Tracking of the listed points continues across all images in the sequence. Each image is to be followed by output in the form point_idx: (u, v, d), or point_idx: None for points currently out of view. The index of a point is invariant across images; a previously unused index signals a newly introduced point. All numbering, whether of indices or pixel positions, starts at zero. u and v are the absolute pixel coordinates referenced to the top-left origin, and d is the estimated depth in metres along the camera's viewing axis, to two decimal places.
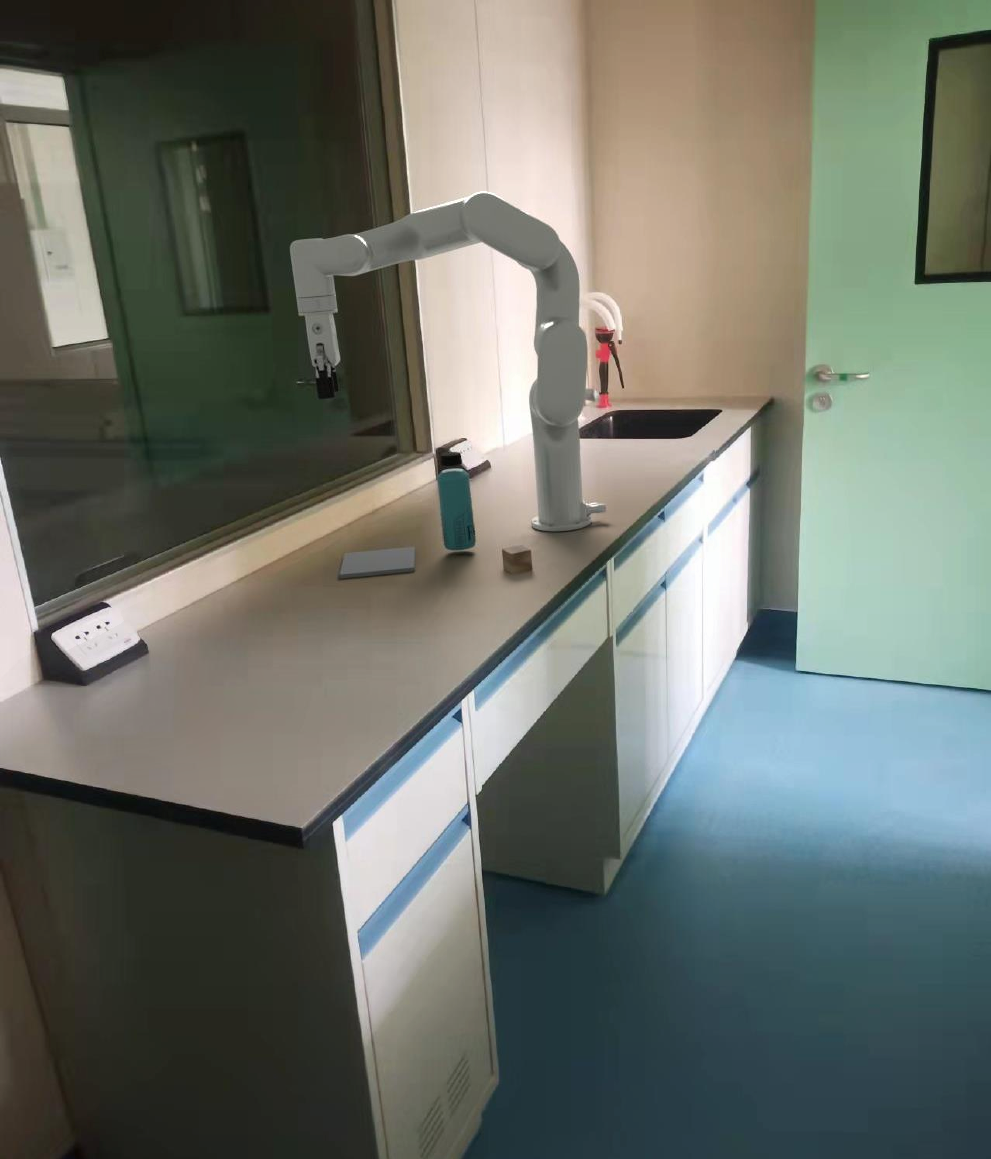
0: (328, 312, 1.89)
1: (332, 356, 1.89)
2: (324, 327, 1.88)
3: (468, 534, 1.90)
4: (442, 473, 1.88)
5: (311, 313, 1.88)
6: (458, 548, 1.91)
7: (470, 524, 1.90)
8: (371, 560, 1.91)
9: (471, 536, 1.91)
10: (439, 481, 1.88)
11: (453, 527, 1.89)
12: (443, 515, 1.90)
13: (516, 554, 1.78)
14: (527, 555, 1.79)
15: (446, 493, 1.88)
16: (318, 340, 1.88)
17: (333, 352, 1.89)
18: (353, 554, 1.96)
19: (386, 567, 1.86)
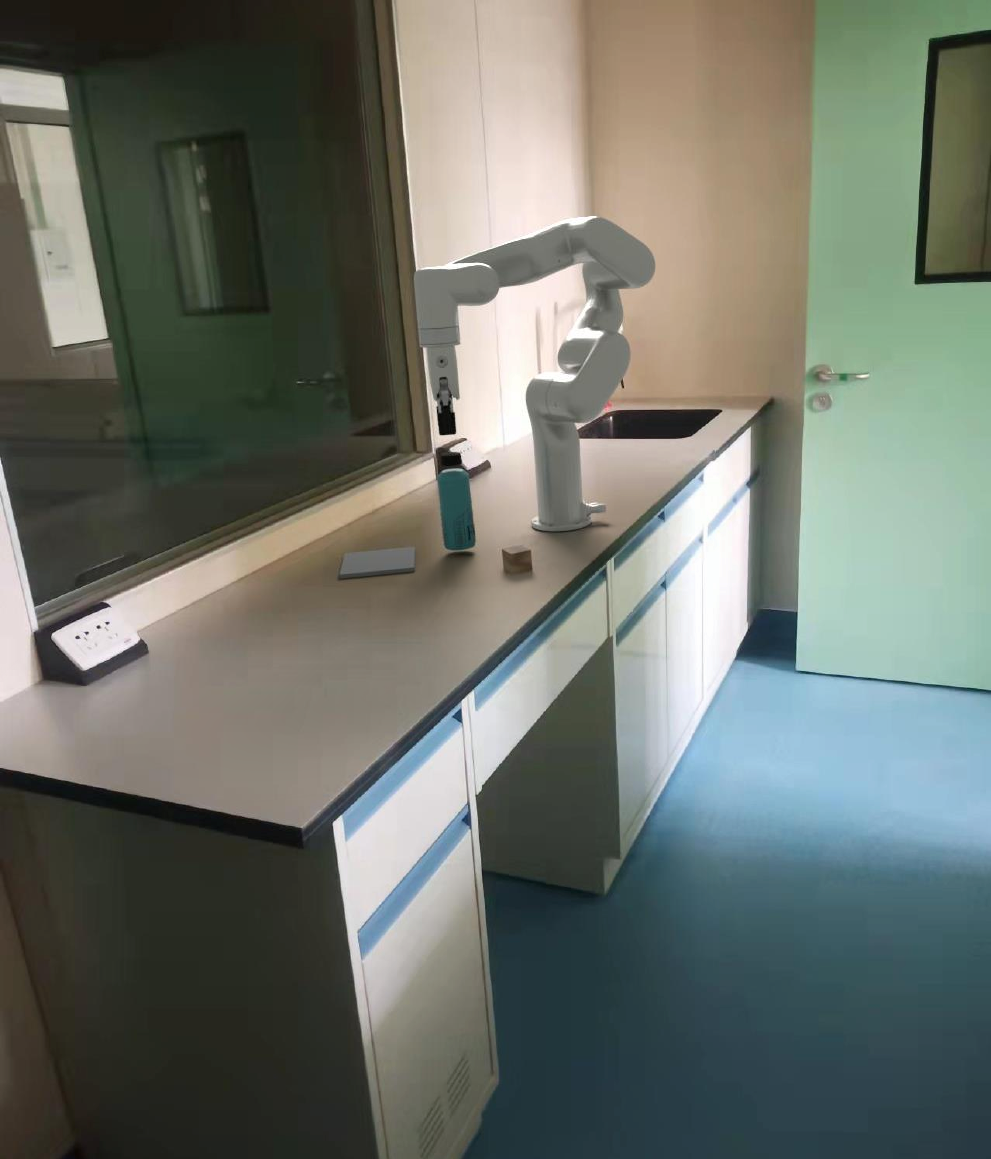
0: (452, 344, 1.79)
1: (455, 391, 1.79)
2: (449, 360, 1.78)
3: (468, 534, 1.90)
4: (442, 473, 1.88)
5: (435, 345, 1.78)
6: (458, 548, 1.91)
7: (470, 524, 1.90)
8: (371, 560, 1.91)
9: (471, 536, 1.91)
10: (439, 481, 1.88)
11: (453, 527, 1.89)
12: (443, 515, 1.90)
13: (516, 554, 1.78)
14: (527, 555, 1.79)
15: (445, 493, 1.88)
16: (442, 374, 1.78)
17: (457, 386, 1.79)
18: (353, 554, 1.96)
19: (386, 567, 1.86)
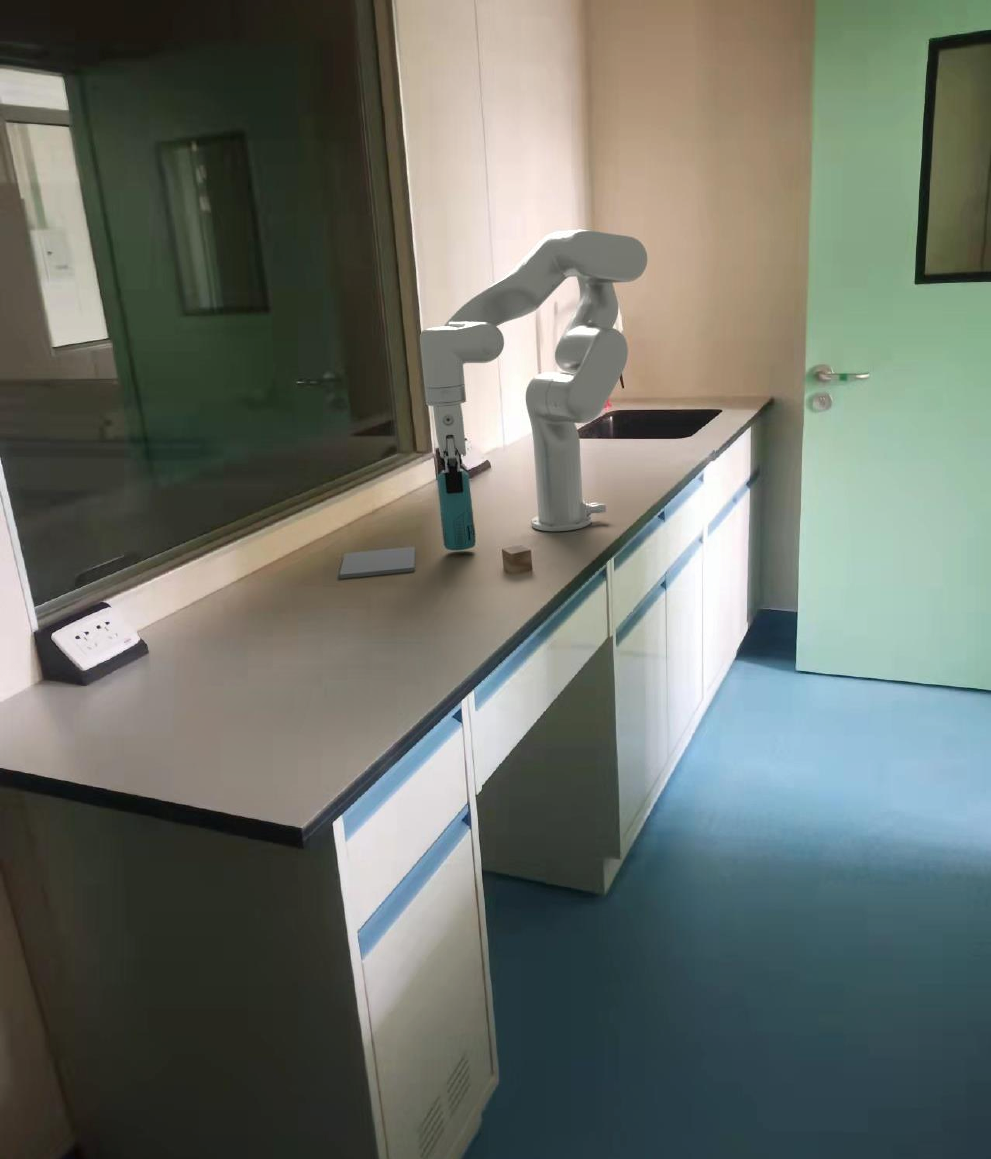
0: (458, 402, 1.82)
1: (462, 448, 1.83)
2: (455, 418, 1.81)
3: (468, 534, 1.90)
4: (442, 473, 1.88)
5: (441, 404, 1.81)
6: (458, 548, 1.91)
7: (470, 524, 1.90)
8: (371, 560, 1.91)
9: (471, 536, 1.91)
10: (439, 481, 1.88)
11: (453, 527, 1.89)
12: (443, 515, 1.90)
13: (516, 554, 1.78)
14: (527, 555, 1.79)
15: (445, 493, 1.88)
16: (448, 434, 1.82)
17: (463, 444, 1.83)
18: (353, 554, 1.96)
19: (386, 567, 1.86)
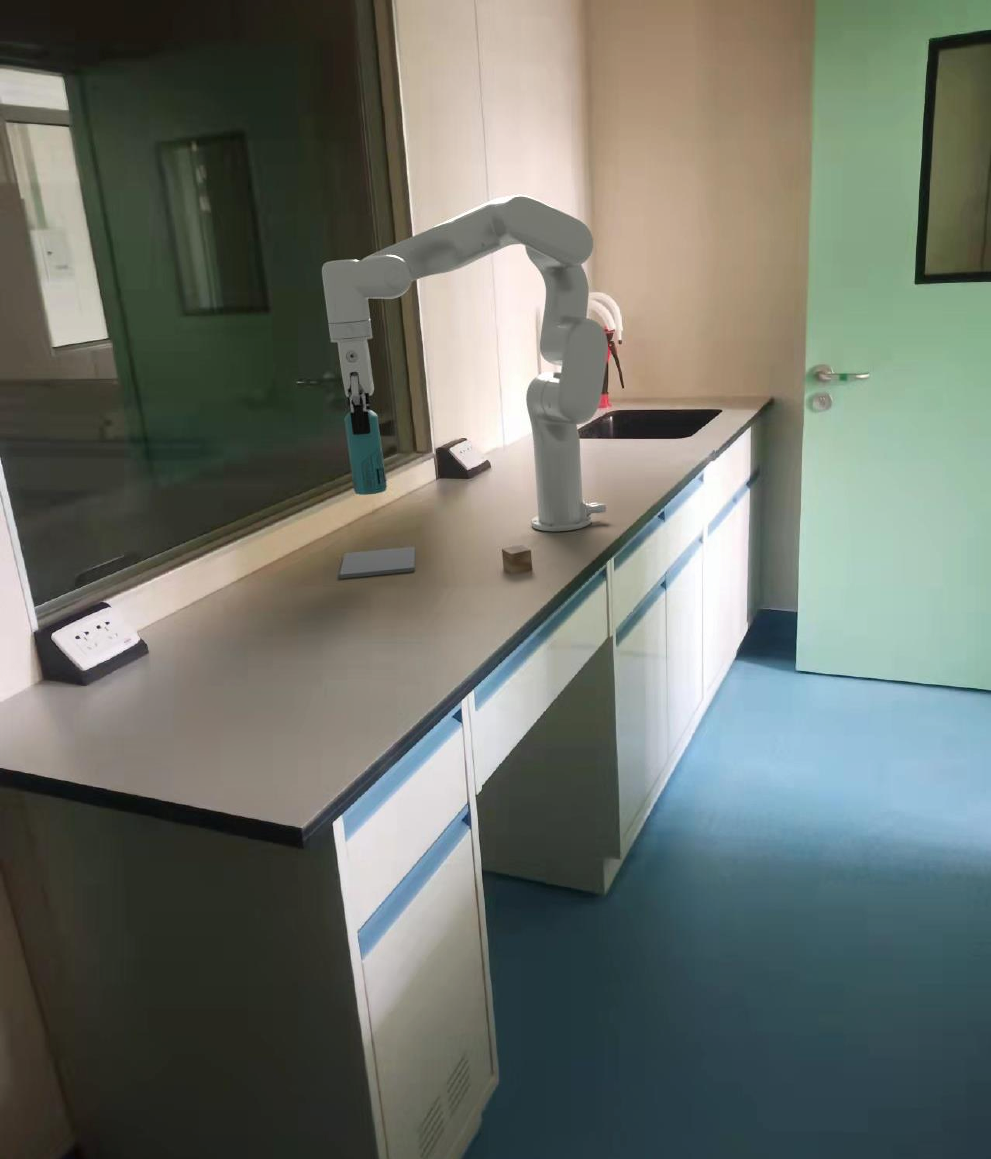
0: (363, 338, 1.75)
1: (367, 386, 1.76)
2: (359, 355, 1.74)
3: (377, 477, 1.84)
4: (349, 414, 1.81)
5: (345, 340, 1.75)
6: (367, 492, 1.84)
7: (379, 467, 1.84)
8: (371, 560, 1.91)
9: (381, 480, 1.84)
10: (346, 422, 1.81)
11: (361, 470, 1.83)
12: (351, 458, 1.83)
13: (516, 554, 1.78)
14: (527, 555, 1.79)
15: (353, 434, 1.81)
16: (352, 371, 1.75)
17: (368, 381, 1.76)
18: (353, 554, 1.96)
19: (386, 567, 1.86)
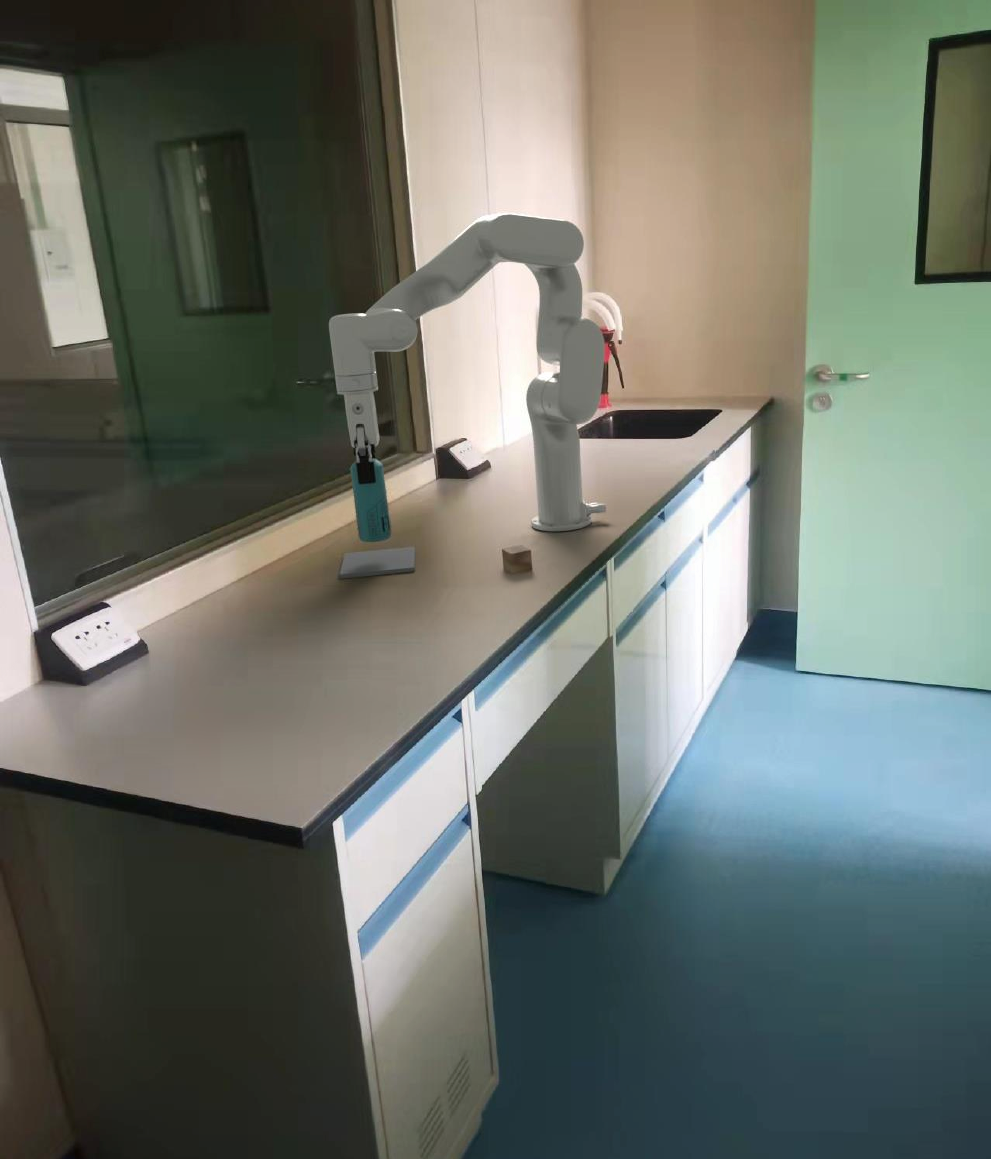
0: (369, 391, 1.78)
1: (373, 437, 1.79)
2: (365, 407, 1.77)
3: (382, 525, 1.87)
4: (355, 463, 1.84)
5: (351, 392, 1.78)
6: (372, 540, 1.87)
7: (384, 515, 1.87)
8: (371, 560, 1.91)
9: (386, 528, 1.87)
10: (351, 471, 1.84)
11: (366, 518, 1.86)
12: (356, 506, 1.86)
13: (516, 554, 1.78)
14: (527, 555, 1.79)
15: (358, 483, 1.84)
16: (358, 423, 1.78)
17: (374, 433, 1.79)
18: (353, 554, 1.96)
19: (386, 567, 1.86)
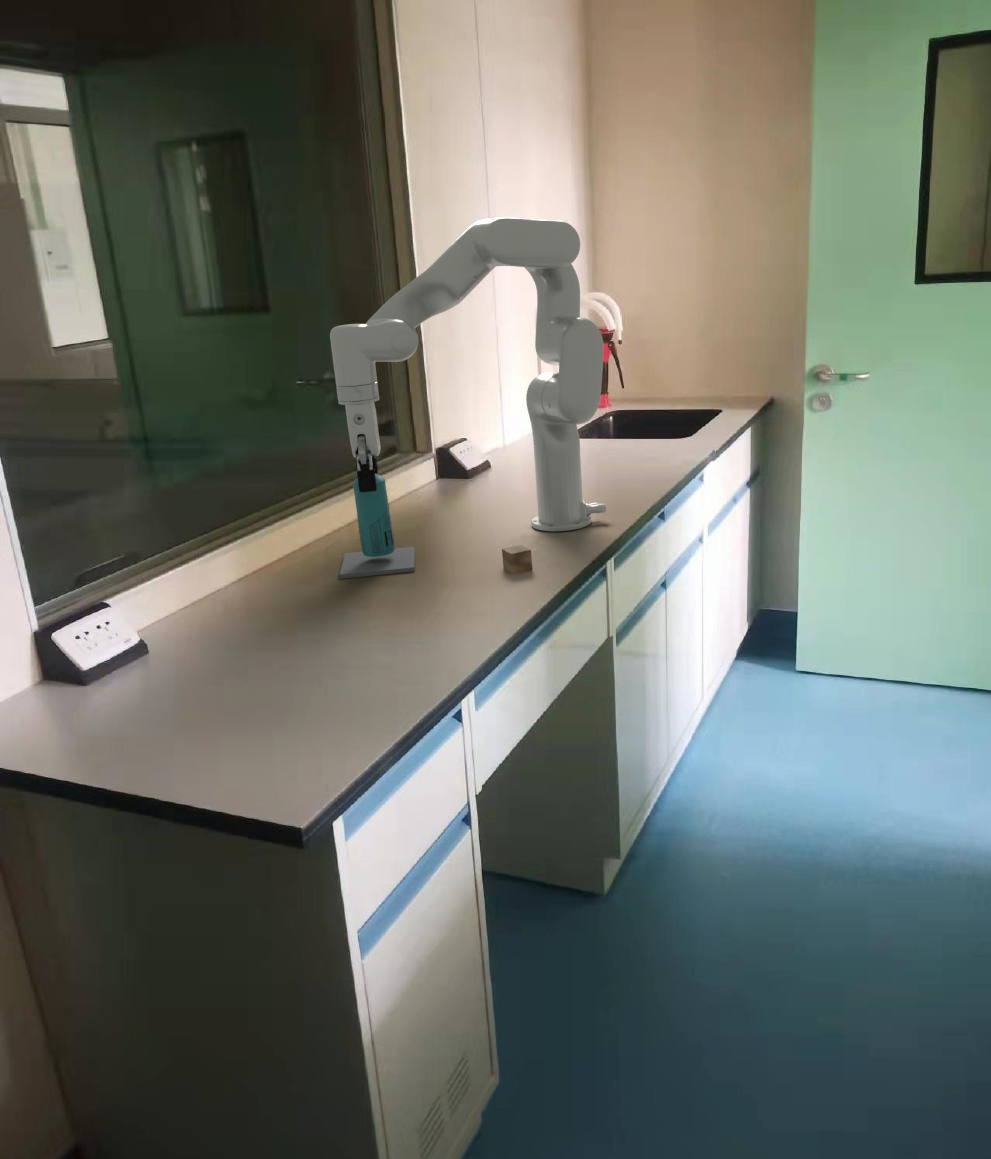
0: (370, 401, 1.79)
1: (374, 447, 1.80)
2: (366, 417, 1.78)
3: (385, 540, 1.88)
4: (357, 478, 1.86)
5: (352, 402, 1.78)
6: (375, 554, 1.88)
7: (387, 530, 1.88)
8: (371, 560, 1.91)
9: (389, 542, 1.88)
10: (354, 487, 1.85)
11: (369, 533, 1.87)
12: (360, 521, 1.87)
13: (516, 554, 1.78)
14: (527, 555, 1.79)
15: (361, 499, 1.85)
16: (359, 431, 1.78)
17: (375, 443, 1.79)
18: (353, 554, 1.96)
19: (386, 567, 1.86)
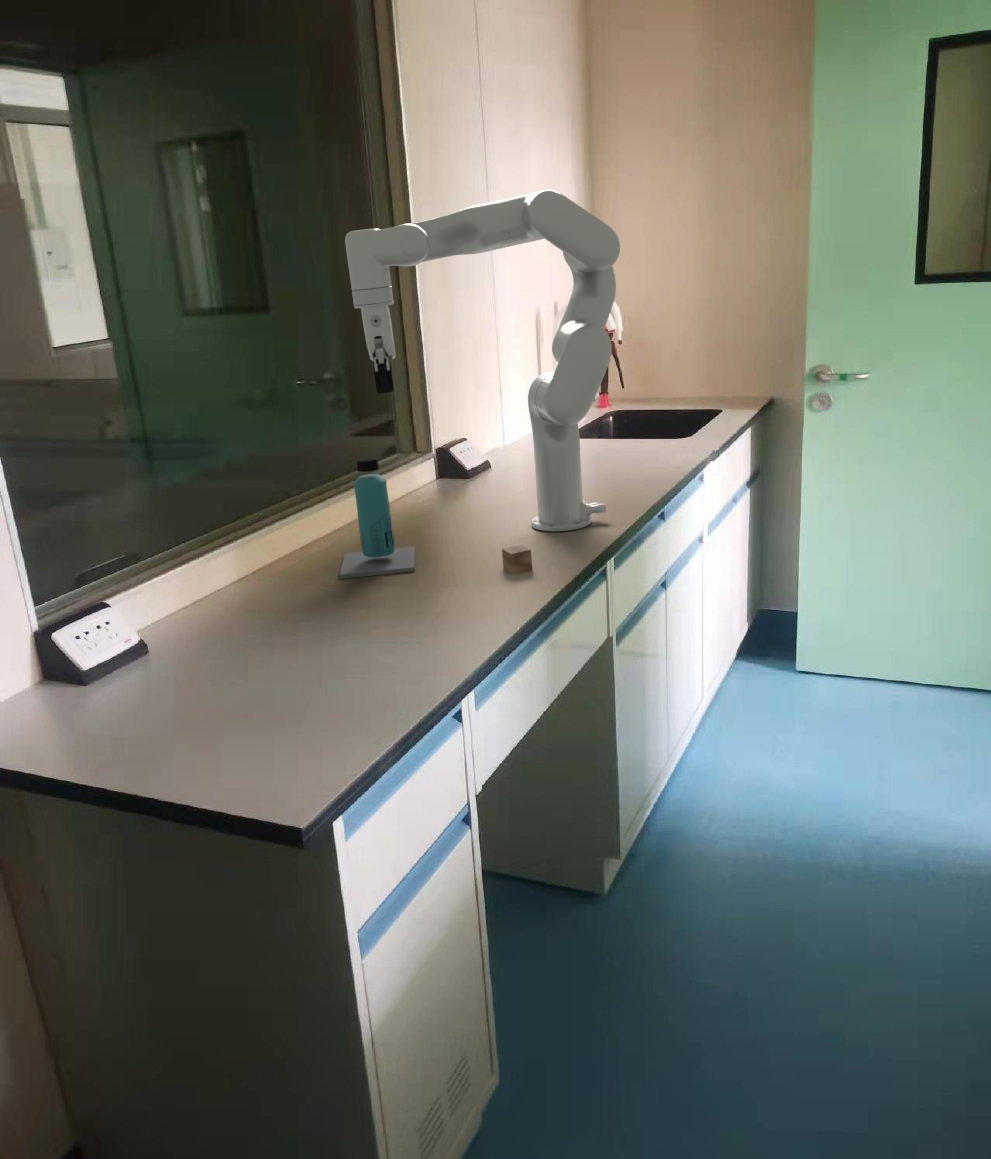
0: (385, 304, 1.84)
1: (391, 349, 1.85)
2: (382, 319, 1.83)
3: (386, 541, 1.88)
4: (358, 479, 1.85)
5: (368, 305, 1.83)
6: (376, 555, 1.88)
7: (388, 530, 1.88)
8: (371, 560, 1.91)
9: (389, 543, 1.88)
10: (355, 487, 1.85)
11: (370, 534, 1.87)
12: (360, 521, 1.87)
13: (516, 554, 1.78)
14: (527, 555, 1.79)
15: (362, 499, 1.85)
16: (376, 333, 1.84)
17: (392, 345, 1.85)
18: (353, 554, 1.96)
19: (386, 567, 1.86)
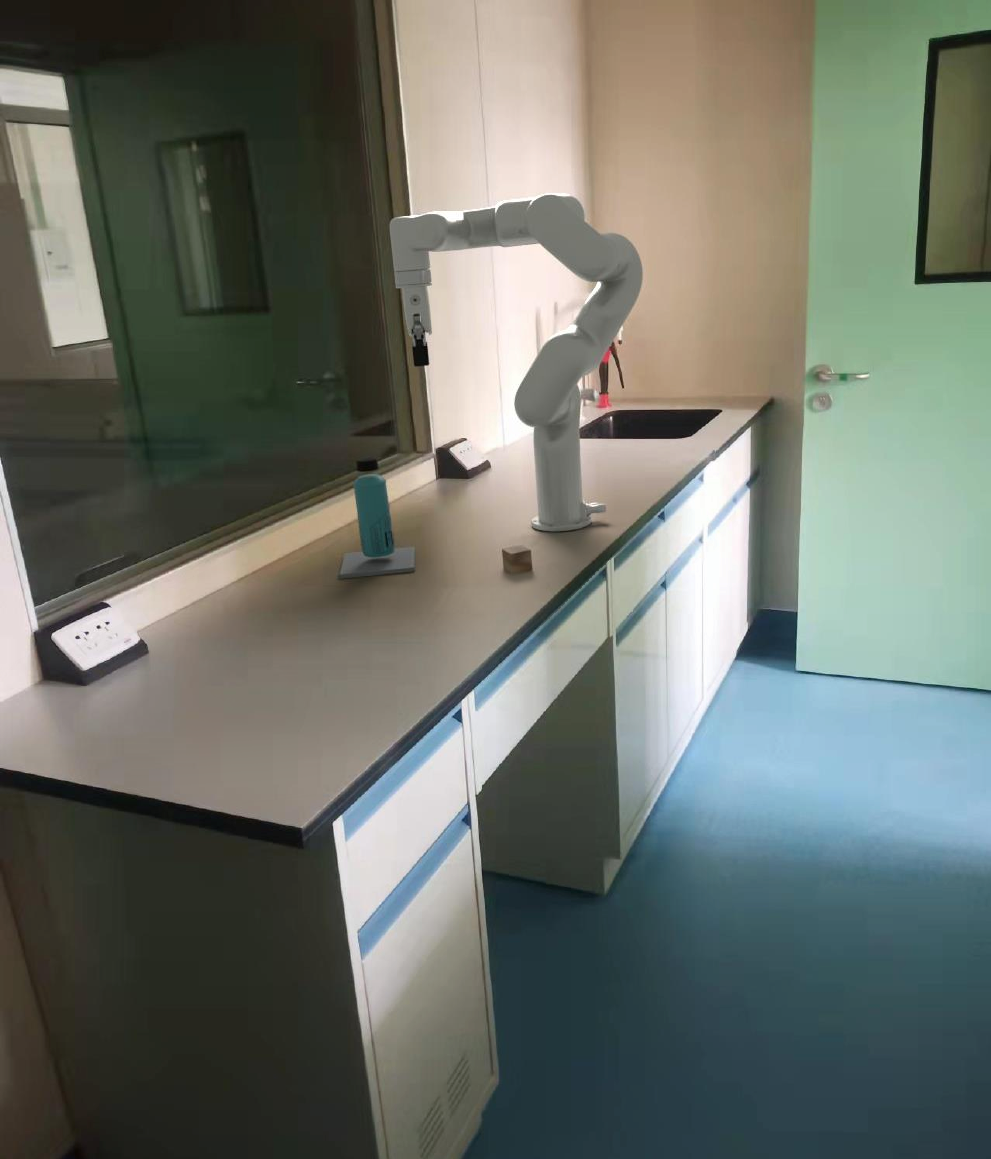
0: (424, 285, 2.02)
1: (428, 326, 2.03)
2: (421, 299, 2.01)
3: (386, 541, 1.88)
4: (358, 479, 1.85)
5: (409, 286, 2.01)
6: (376, 555, 1.88)
7: (388, 530, 1.88)
8: (371, 560, 1.91)
9: (389, 543, 1.88)
10: (355, 487, 1.85)
11: (370, 534, 1.87)
12: (360, 521, 1.87)
13: (516, 554, 1.78)
14: (527, 555, 1.79)
15: (361, 499, 1.85)
16: (415, 311, 2.02)
17: (429, 322, 2.03)
18: (353, 554, 1.96)
19: (386, 567, 1.86)
